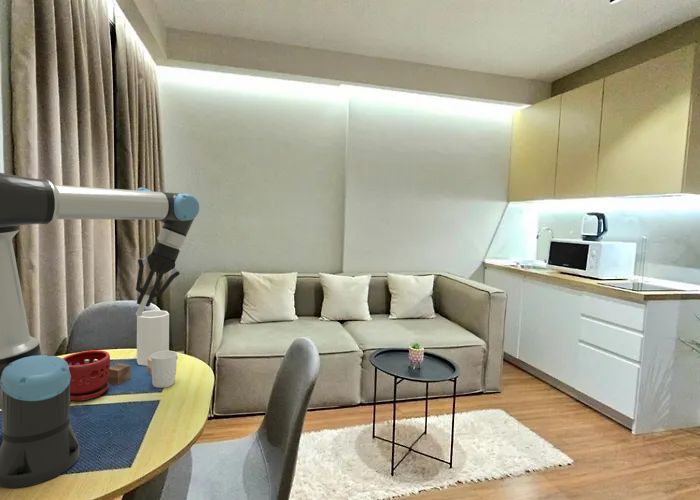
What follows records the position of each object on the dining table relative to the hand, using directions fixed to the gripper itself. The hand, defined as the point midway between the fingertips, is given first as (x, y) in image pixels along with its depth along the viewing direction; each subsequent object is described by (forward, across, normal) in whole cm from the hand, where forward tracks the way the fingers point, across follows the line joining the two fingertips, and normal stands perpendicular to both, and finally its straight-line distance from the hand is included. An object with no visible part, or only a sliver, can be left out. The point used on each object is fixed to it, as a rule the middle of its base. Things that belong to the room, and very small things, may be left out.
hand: (138, 315), depth 122 cm
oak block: (+21, -14, -16) cm, 30 cm away
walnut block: (+25, -3, -12) cm, 28 cm away
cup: (+21, -13, -28) cm, 37 cm away
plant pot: (+28, +4, -5) cm, 29 cm away
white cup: (+21, -16, -5) cm, 27 cm away
